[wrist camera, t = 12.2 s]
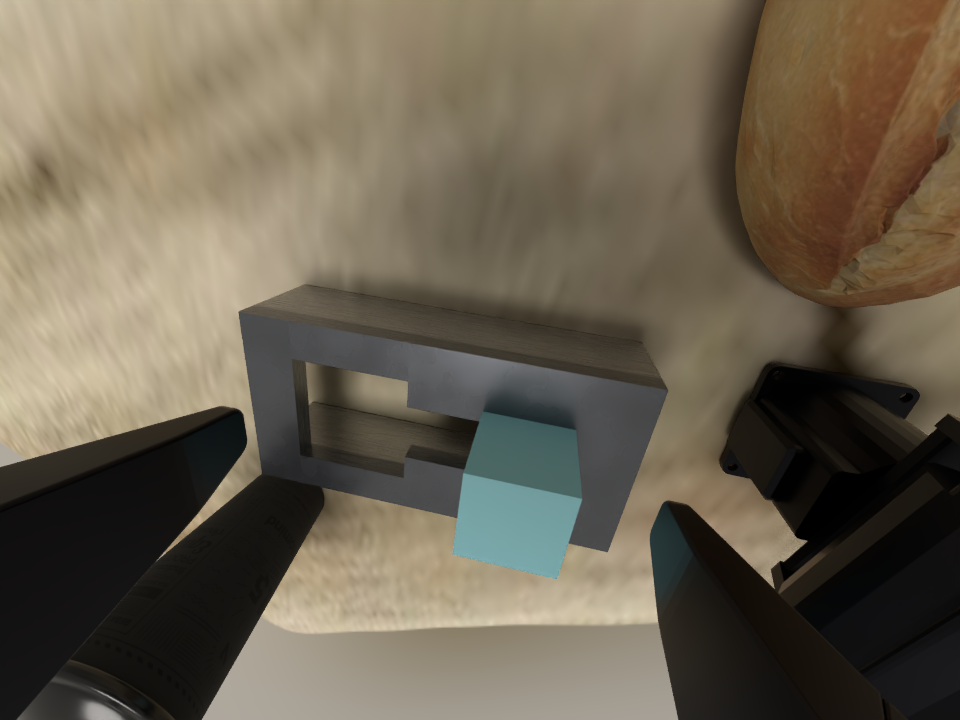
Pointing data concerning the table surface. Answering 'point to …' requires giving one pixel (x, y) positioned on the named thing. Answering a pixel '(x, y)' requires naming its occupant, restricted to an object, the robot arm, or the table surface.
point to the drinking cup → (187, 614)
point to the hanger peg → (519, 495)
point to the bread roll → (854, 148)
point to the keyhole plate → (443, 398)
